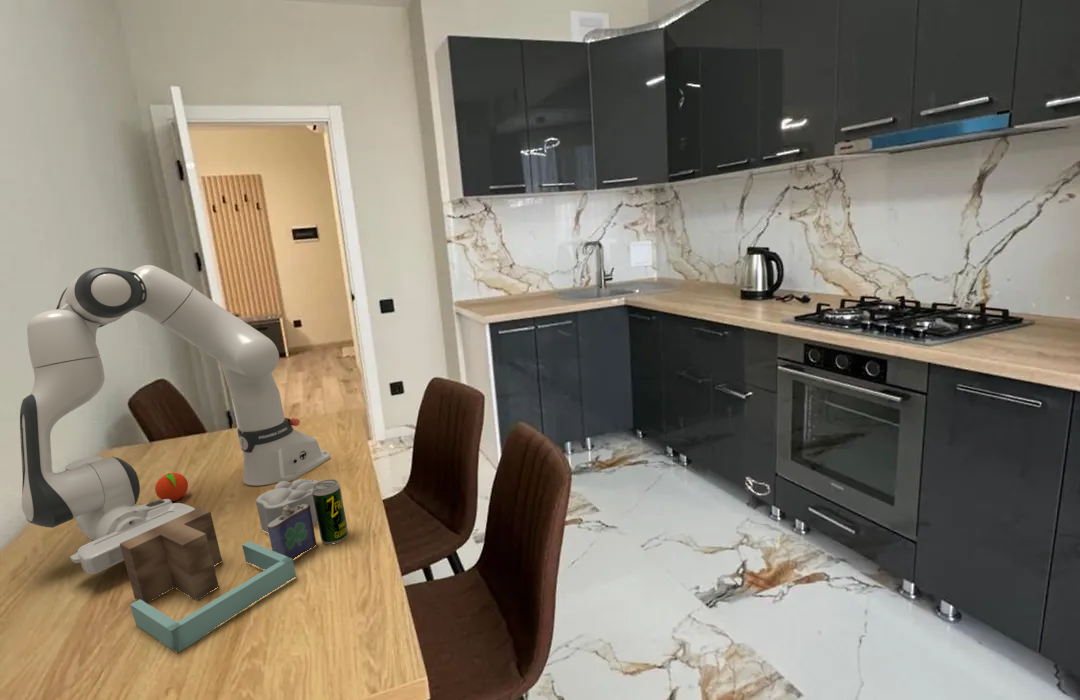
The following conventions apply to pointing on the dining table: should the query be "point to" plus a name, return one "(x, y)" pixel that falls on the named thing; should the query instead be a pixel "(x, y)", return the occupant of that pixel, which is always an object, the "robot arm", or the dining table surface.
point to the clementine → (171, 486)
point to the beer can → (330, 511)
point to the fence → (217, 601)
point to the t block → (174, 557)
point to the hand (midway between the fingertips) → (159, 546)
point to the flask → (292, 531)
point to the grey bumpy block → (285, 500)
